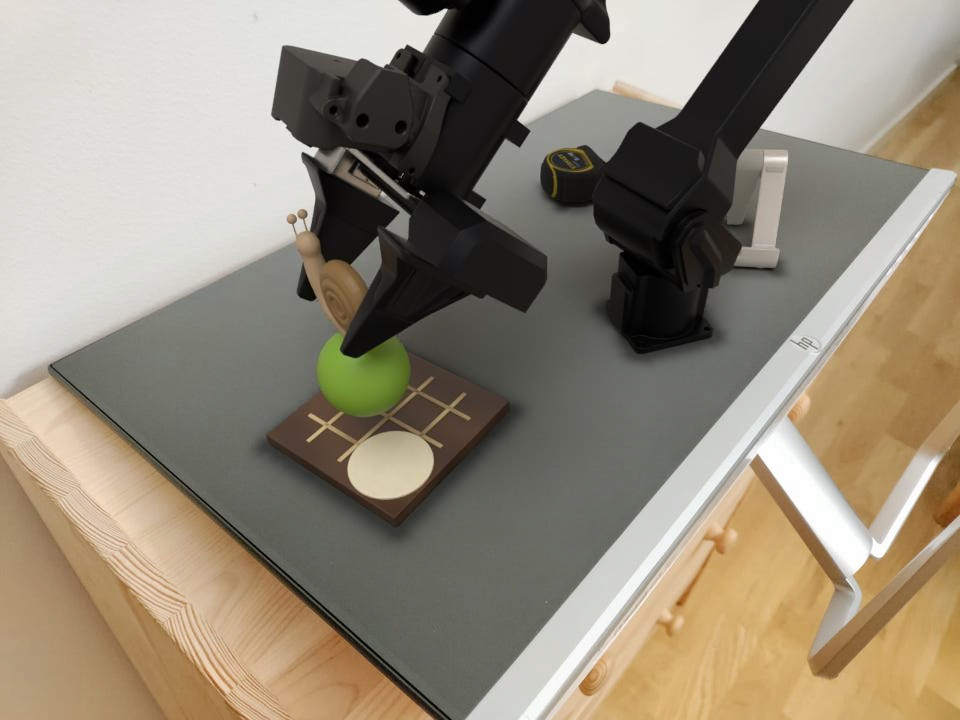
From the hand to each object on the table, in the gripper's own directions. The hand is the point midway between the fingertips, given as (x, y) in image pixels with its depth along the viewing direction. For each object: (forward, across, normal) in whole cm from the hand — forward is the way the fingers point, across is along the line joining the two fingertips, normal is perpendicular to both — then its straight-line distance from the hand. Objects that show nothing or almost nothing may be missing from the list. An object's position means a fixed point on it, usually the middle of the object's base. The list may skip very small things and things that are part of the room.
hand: (324, 325), depth 39 cm
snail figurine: (+4, 0, +6) cm, 7 cm away
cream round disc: (+8, +2, +10) cm, 13 cm away
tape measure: (-15, -20, +33) cm, 42 cm away
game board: (+6, -2, +11) cm, 13 cm away
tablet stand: (-18, -5, +36) cm, 40 cm away
